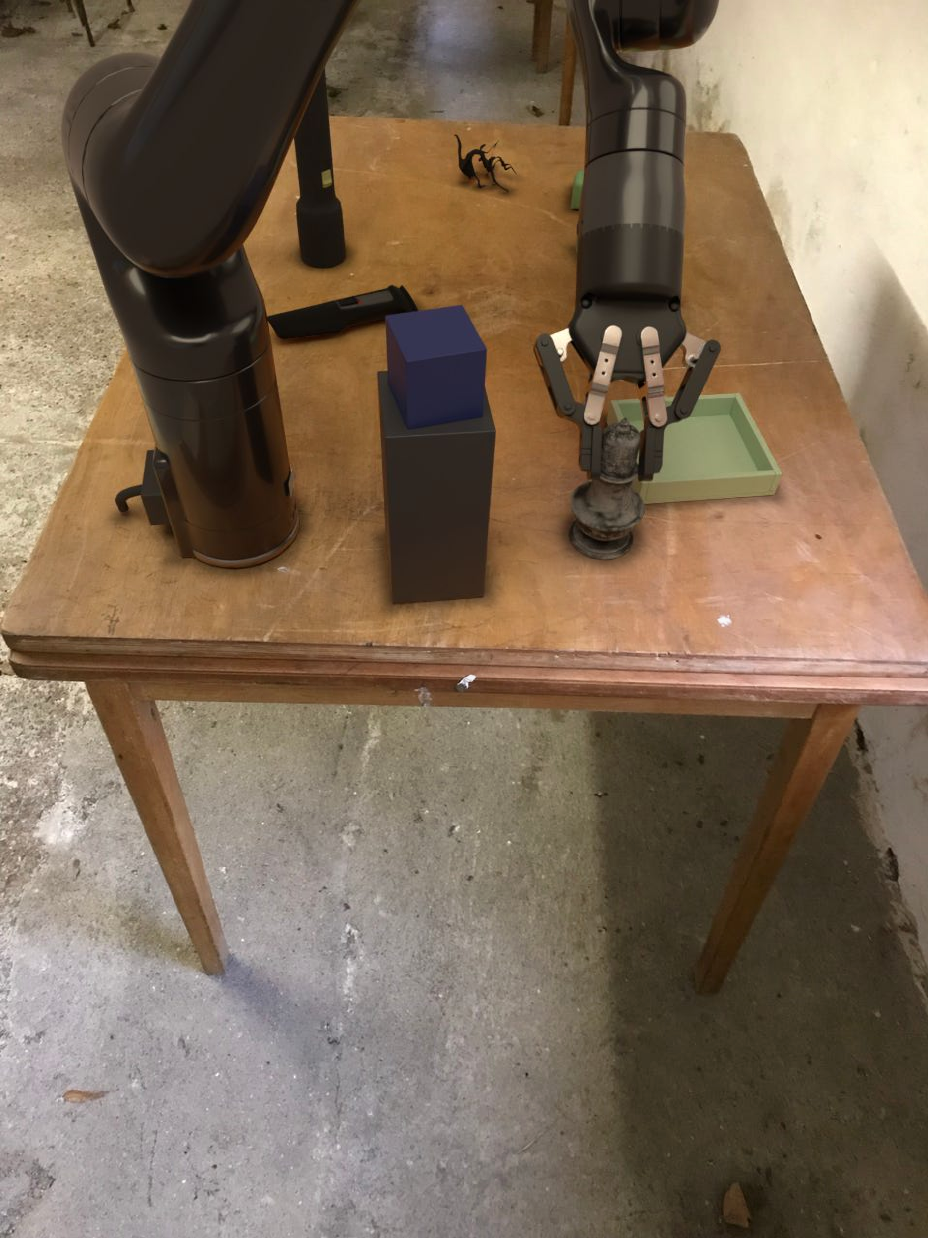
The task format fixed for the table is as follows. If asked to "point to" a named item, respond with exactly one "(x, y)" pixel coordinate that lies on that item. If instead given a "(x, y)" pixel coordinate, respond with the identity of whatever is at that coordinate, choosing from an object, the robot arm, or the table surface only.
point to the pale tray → (706, 452)
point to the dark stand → (435, 502)
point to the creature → (467, 164)
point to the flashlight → (318, 186)
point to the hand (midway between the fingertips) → (619, 478)
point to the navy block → (435, 366)
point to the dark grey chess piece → (609, 498)
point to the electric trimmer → (342, 313)
